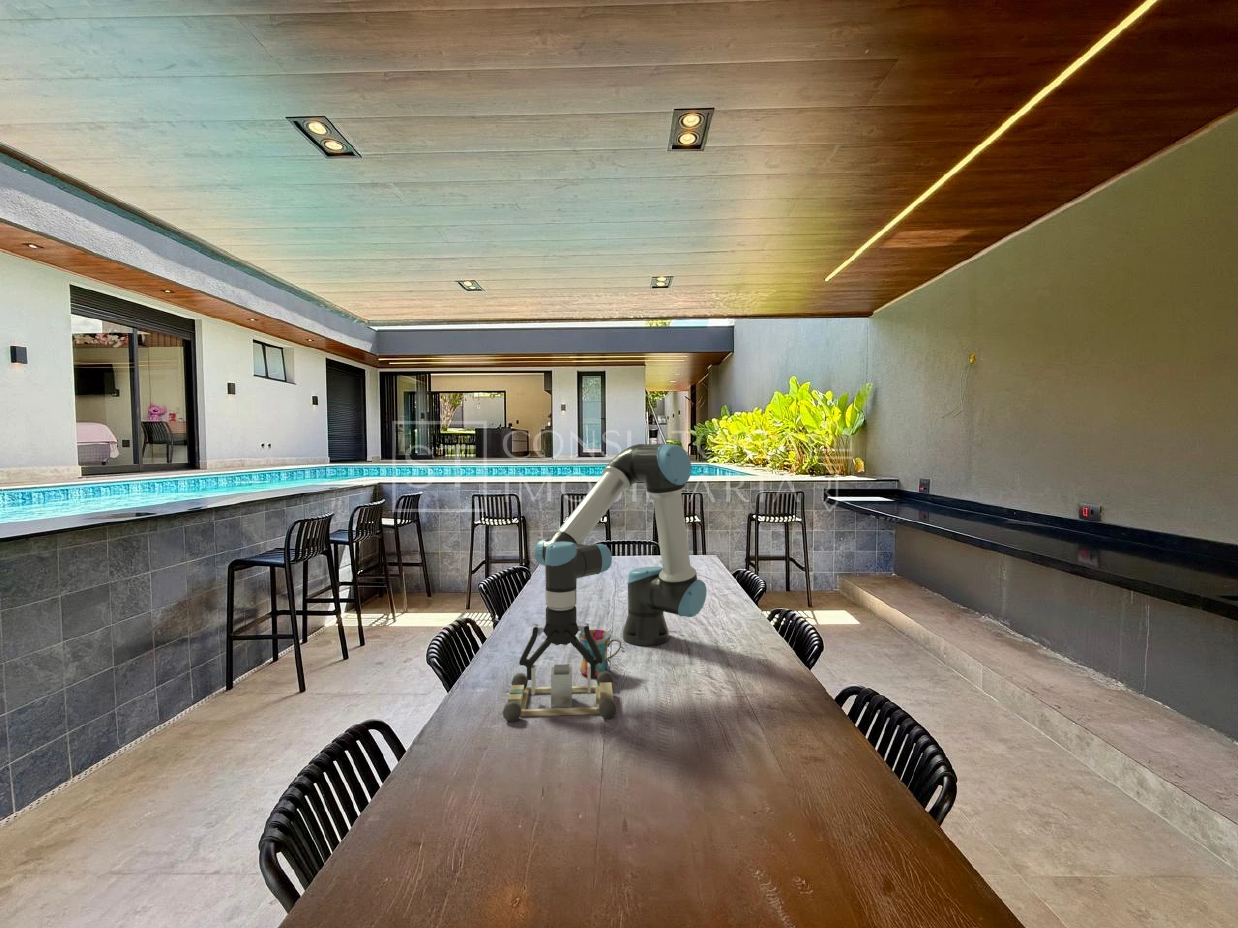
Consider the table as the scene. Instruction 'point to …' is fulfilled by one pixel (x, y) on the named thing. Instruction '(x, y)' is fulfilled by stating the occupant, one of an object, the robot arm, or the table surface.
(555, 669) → the engine block
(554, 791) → the table surface
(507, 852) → the table surface
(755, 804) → the table surface
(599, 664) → the mug
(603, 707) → the chassis
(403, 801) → the table surface
